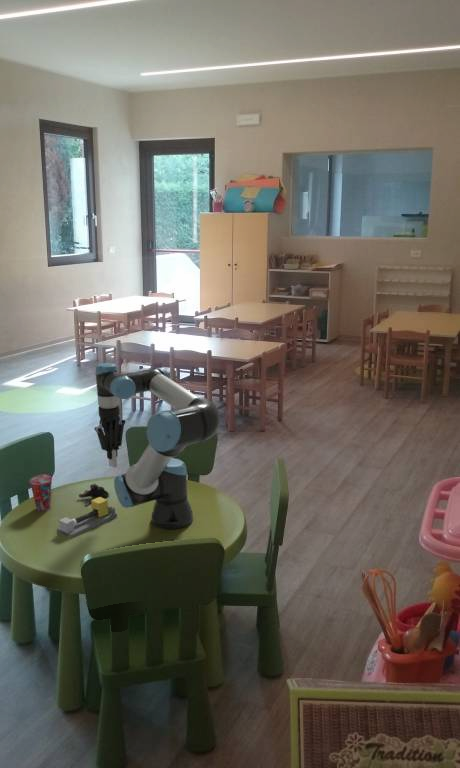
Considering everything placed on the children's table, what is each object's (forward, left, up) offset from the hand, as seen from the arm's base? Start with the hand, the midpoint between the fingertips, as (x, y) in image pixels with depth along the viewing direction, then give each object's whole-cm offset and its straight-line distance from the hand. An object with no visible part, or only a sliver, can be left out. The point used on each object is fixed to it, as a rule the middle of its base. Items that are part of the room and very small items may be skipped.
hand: (113, 465), depth 256 cm
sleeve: (0, +8, -17) cm, 18 cm away
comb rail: (0, +14, -18) cm, 23 cm away
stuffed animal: (+16, -2, -19) cm, 25 cm away
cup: (+24, +16, -18) cm, 34 cm away
